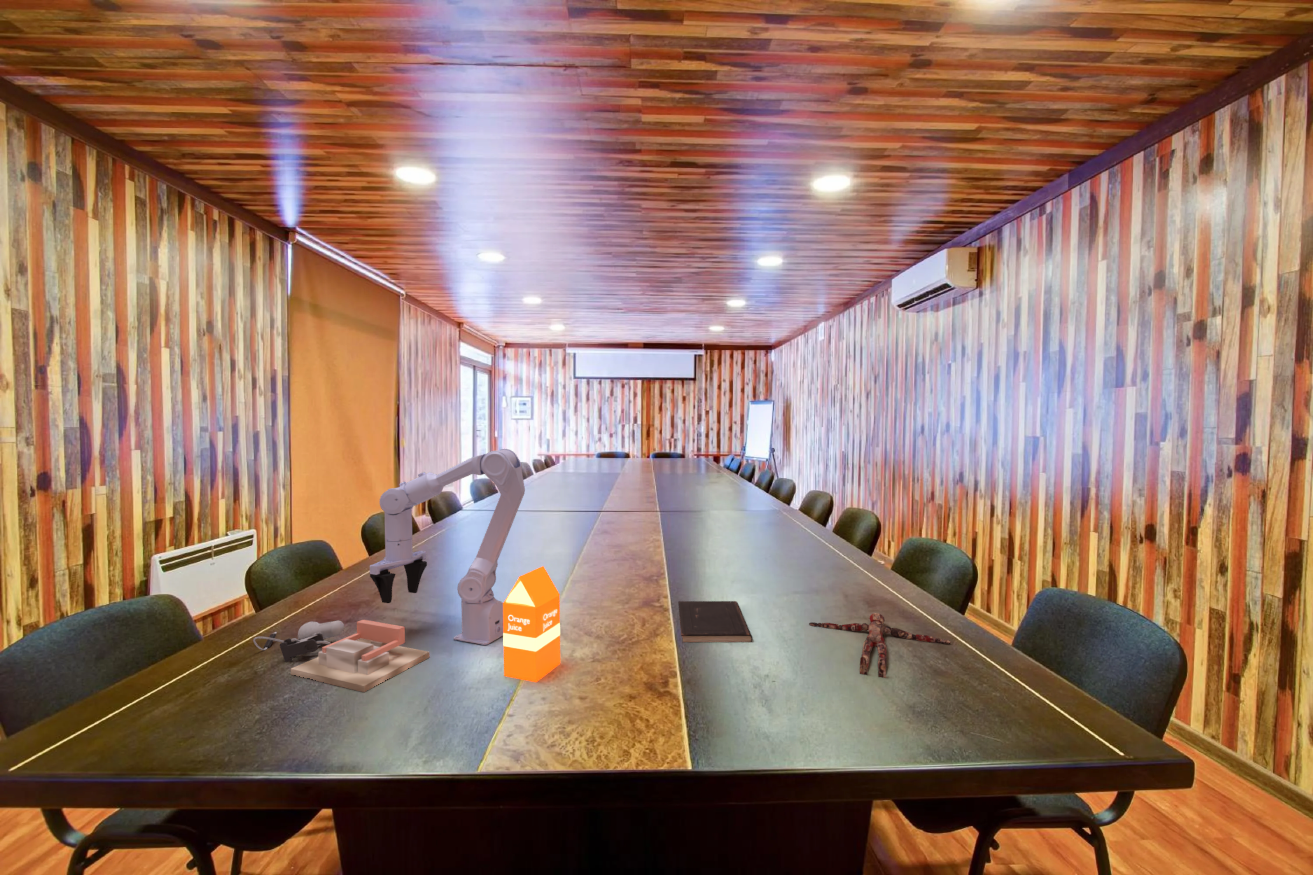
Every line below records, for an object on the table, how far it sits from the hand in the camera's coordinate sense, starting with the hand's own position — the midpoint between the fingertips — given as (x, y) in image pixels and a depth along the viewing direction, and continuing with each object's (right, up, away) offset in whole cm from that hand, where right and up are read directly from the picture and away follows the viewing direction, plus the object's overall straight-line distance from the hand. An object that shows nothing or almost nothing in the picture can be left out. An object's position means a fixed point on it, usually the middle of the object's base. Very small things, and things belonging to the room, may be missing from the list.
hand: (400, 597), depth 126 cm
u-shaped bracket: (-1, -6, -14) cm, 15 cm away
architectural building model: (-1, -10, -15) cm, 18 cm away
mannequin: (+108, -10, -7) cm, 108 cm away
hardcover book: (+73, -9, +8) cm, 74 cm away
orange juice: (+35, -10, -17) cm, 40 cm away
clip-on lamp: (-20, -10, -6) cm, 23 cm away
